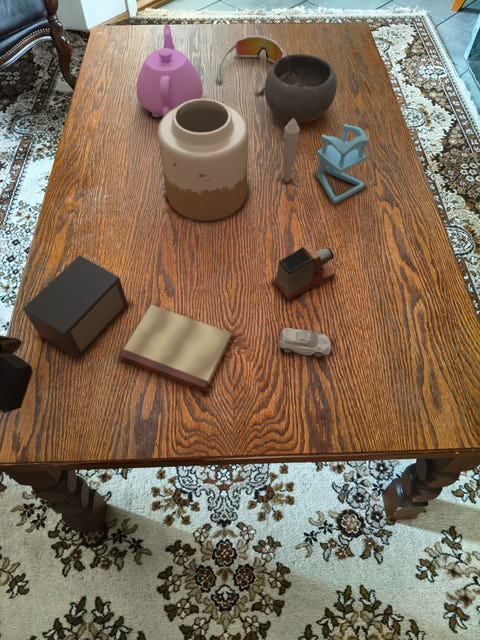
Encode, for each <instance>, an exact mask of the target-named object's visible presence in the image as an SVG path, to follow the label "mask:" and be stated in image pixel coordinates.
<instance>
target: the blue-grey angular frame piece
mask: <svg viewBox="0 0 480 640" xmlns="http://www.w3.org/2000/svg"><path fill="white" fill-rule="evenodd" d="M342 128H343V130H342V134H341V139H340V138H338V137H336V136H332V135H326V134H321V140H322V142H321V143H322V148H321V149H319V150H317V151H316V156H317V157H318V166H317V170H316V173H315V176H316V178H317V179H318V181H319V182H320V184H321V185H322V187H323V189H324V191H325V192H326V195H327V196H328V198H329V199H330V201H331V202H332V203H333V204H337V203H340V202H341V201H343V200H345V199H346V198H348V197H351V196H352V195H354V194H356V193H357V192H359V191H362V190H363V189H364V188H365V182H364V181H362V180H360V179H358V178H356V177H353V176H351V175H348V174H347V173H345V172H346V171H348V170H349V169H351V168H354V167H355V166H357V165H360V164H362V163H363V162H366V161H367V158H368V156H367V155H366V154H364V150H365V148H366V147H367V145H368V143H369V142H370V139H369V137H368V136H367V134H366V132H365V131H364V130H363V129H362V128H361V127H359V126H356V125H349V124H346V123H343V124H342ZM348 132H352V133H354V134H355V135H357V137H354V138H353V139H351V140H350V141H347V133H348ZM328 144H330V145H328ZM358 148H359V149H358ZM324 172H326V173H328V174H330V175H331V176H334V177H336V178H338V179H340V180H342V181H345V182H347V183H350V184H352V185H354V187H352V188H350V189H349V190H346V191H344V192H343V193H341V194H339V195H337V196H336V195H335V192H333V190H332V187H331V185H330V184H329V182H328V179H327V178H326V176H325V173H324Z"/></svg>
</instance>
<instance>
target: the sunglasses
mask: <svg viewBox="0 0 480 640" xmlns="http://www.w3.org/2000/svg"><path fill="white" fill-rule="evenodd" d="M234 50H235V55H236V57H238V58H258V57H260V55H261V53H262V51H263V50H264V52H265V58H266V59H267V60H268V61H269V62H271V63H273V64H274V63H275V62H276V61H277V60H278V59H280V58H282V57H284V56H286V55H285V51H284V49H283V48H282V47H281V45H280V43H278V42H277V41H276V40H274V39H273V38H270V37H268V36H264V35H258V34H256V35H255V34H253V35H245V36H244V37H240V38H238V39H237V40H236V41H234V42H233V43H232V45H231V46H229V48H228V49H227V50H226V52H225V53H224V55H223V57H222V59H221V61H220V63H219V66H218V83H219V84H220V83H221V69H222V66H223V63H224V61H225V59H226V57H227V56H228V55H229V54H230V53H232V52H233V51H234ZM263 92H265V85H264V86H263V87H262V88H261V89H260V90H259V91H258V92H257V94H258V95H260V94H262V93H263Z"/></svg>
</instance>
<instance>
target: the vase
mask: <svg viewBox="0 0 480 640" xmlns="http://www.w3.org/2000/svg"><path fill="white" fill-rule="evenodd" d="M248 128H249V127H248V124H247V121H246V119H245V117H244V116H243V115H242V114H241V113H240V112H238V110H236V109H235V108H233V107H231V106H229V105H227V104H225V103H223V102H221V101H219V100H216V99H211V98H201V99H193V100H190V101H187V102H184V103H182V104H181V105H179V106H178V107H176V108H174V109H173V110H171V111H170V112H168V113H167V114H166V115H165V116H162V118H161V120H160V121H159V124H158V128H157V140H158V148H159V153H160V160H161V168H162V173H163V180H164V186H165V187H164V188H165V193H166V197H167V201H168V202H169V205H170V206H171V208H172V209H173V210H174V211H175V212H176V213H178V214H179V215H181V216H182V217H185V218H187V219H190V220H193V221H200V222H211V221H212V222H213V221H219V220H221V219H225V218H227V217H230V216H231V215H233V214H235V213H236V212H237V211H238V210H239V209H240V208H241V207H242V206H243V204H244V202H245V201H246V198H247V192H248V164H249V163H248V159H249V129H248Z"/></svg>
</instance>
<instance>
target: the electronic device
mask: <svg viewBox="0 0 480 640" xmlns="http://www.w3.org/2000/svg"><path fill="white" fill-rule="evenodd" d="M334 257H335V254H334V253H333V251H332V249H331V247H325V248H323V249H319V250H316V249H314V247H313V246H312V245H311V244H309V243H307V244H306V245H305V244H304V245H303V246H302V247H300V248H299V249H297V250H295V251H294V252H291V254H289V255H287V256H286V257H283V258H282V259H280V260H279V261H278V265H277V270H276V275H275V279H274V285H275V286H276V287H277V288H278V289H279V292H280V293H281V294H282V295H283V297H285V299H286V300H287V301H291V300H292V299H294V298H296V297H298V296H300V295H302V294H303V293H306V292H308V291H310V290H311V289H314V288H316V287H318V286H319V285H321V284H322V283H325V282H327V281H329V280H332V279H333V277H334V276H336V273H335V271H333V270H332V269H331V267H330V266H329V265H328V264H327V263H328V262H330V261H331V260H333V259H334Z"/></svg>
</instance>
